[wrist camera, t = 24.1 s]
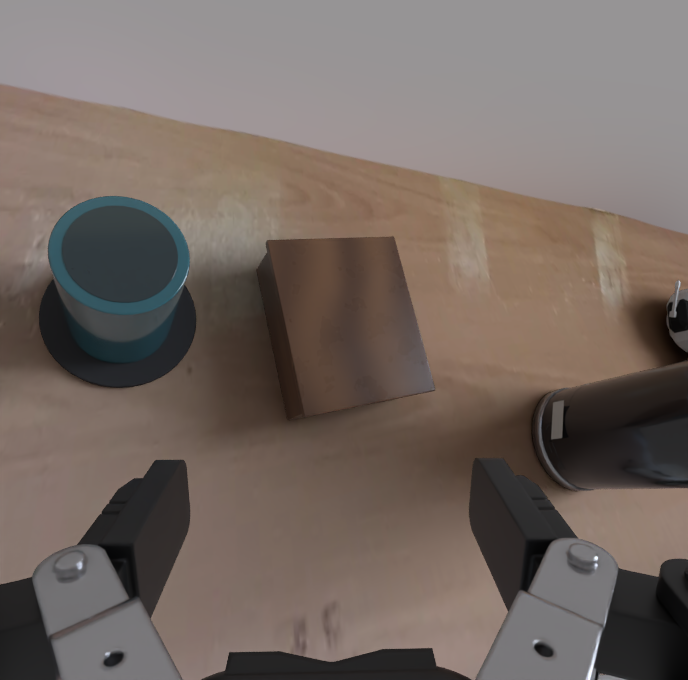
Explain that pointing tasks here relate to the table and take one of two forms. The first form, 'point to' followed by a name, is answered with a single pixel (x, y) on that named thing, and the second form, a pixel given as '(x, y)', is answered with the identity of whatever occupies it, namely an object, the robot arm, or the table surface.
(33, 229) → the table surface
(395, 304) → the riser
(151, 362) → the coaster
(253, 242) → the table surface
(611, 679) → the clip-on lamp
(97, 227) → the tumbler
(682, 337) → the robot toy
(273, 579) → the table surface
